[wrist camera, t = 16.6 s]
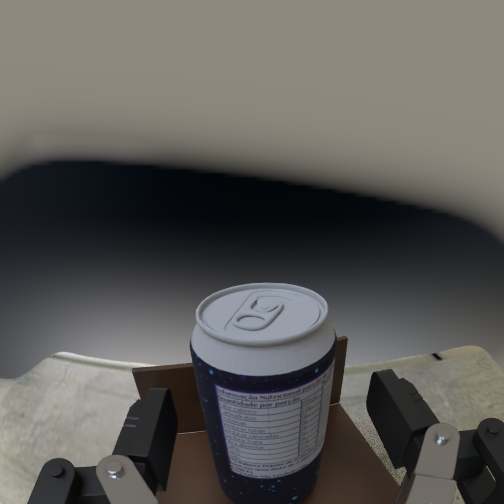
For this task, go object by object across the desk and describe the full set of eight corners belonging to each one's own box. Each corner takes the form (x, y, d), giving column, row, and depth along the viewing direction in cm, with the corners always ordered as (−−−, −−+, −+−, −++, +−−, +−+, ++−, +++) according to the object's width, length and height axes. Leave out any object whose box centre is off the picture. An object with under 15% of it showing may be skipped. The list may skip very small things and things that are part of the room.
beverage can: (327, 459, 16) (350, 286, 13) (295, 529, 11) (315, 362, 8) (247, 438, 18) (232, 273, 15) (202, 497, 13) (152, 324, 10)
